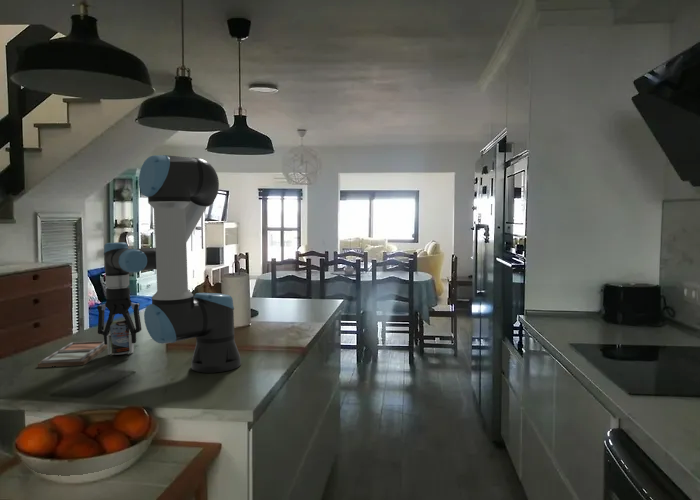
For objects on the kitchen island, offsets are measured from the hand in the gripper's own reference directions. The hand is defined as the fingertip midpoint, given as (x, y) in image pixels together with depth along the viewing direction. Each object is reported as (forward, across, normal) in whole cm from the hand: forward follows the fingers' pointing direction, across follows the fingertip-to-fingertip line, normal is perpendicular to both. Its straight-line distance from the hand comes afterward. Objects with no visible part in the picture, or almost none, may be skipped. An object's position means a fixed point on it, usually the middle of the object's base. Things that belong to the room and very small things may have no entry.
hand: (120, 352), depth 185 cm
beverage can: (+1, 0, 0) cm, 1 cm away
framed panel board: (0, +15, -1) cm, 15 cm away
